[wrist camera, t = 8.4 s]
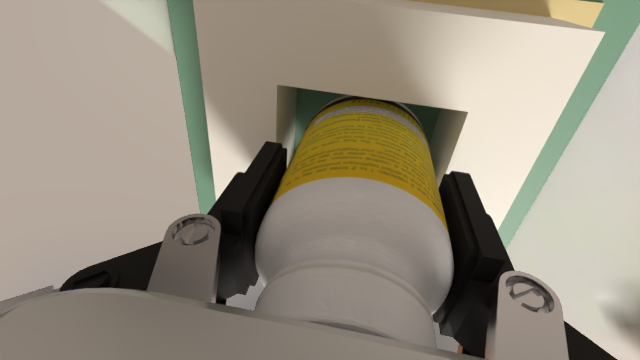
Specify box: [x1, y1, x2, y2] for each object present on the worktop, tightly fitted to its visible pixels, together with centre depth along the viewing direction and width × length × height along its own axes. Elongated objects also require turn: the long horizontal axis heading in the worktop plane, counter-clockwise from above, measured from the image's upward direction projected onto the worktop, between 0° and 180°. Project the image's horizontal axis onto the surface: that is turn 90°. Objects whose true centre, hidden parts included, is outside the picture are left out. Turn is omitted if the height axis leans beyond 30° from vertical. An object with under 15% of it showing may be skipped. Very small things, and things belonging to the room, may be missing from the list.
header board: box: [167, 0, 640, 249], centre depth 14 cm, size 18×14×4 cm
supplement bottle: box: [255, 95, 454, 349], centre depth 10 cm, size 5×5×10 cm
